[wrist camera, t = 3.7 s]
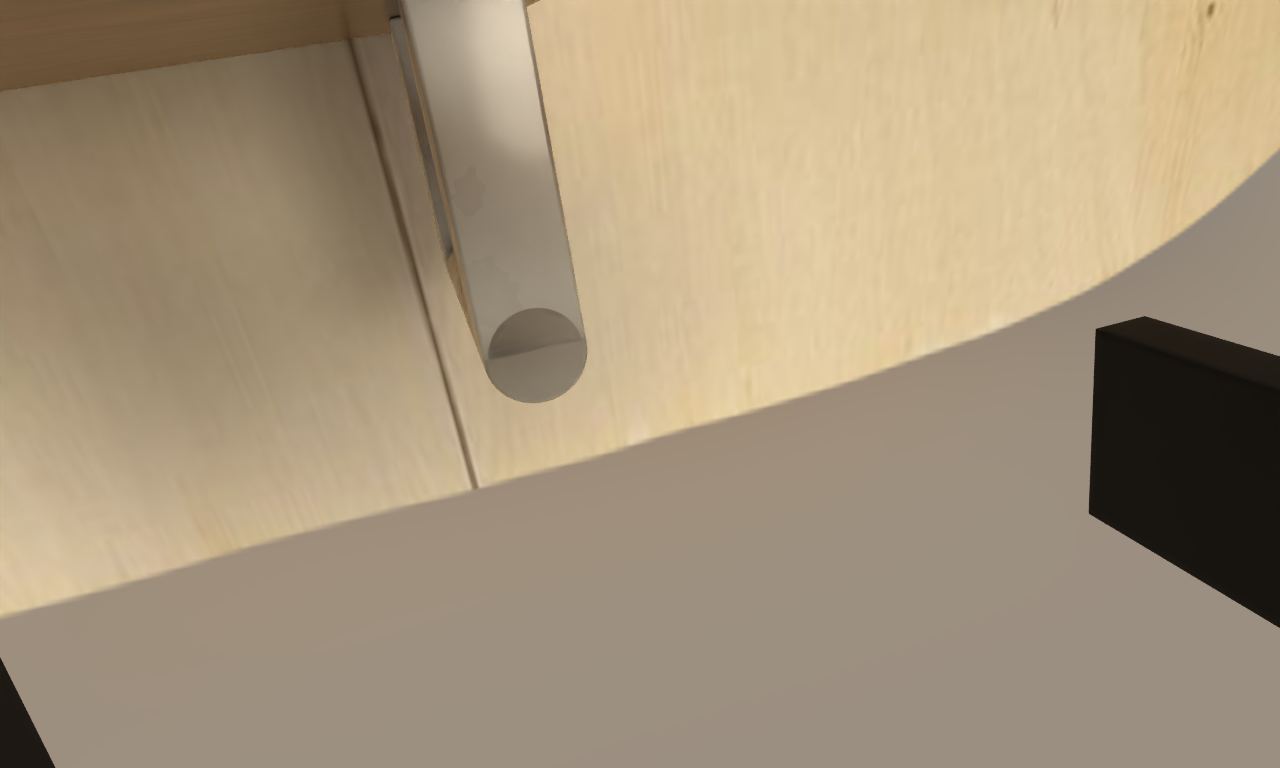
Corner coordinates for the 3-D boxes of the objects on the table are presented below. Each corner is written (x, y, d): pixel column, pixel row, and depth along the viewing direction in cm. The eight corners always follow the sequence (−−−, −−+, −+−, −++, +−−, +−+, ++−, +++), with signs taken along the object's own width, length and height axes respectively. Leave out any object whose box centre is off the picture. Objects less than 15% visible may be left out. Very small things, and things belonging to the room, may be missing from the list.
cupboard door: (550, 229, 30) (801, 444, 12) (-178, 376, 26) (-1436, 1045, 8) (503, -19, 28) (743, -207, 10) (-324, 96, 23) (-2808, 150, 5)
